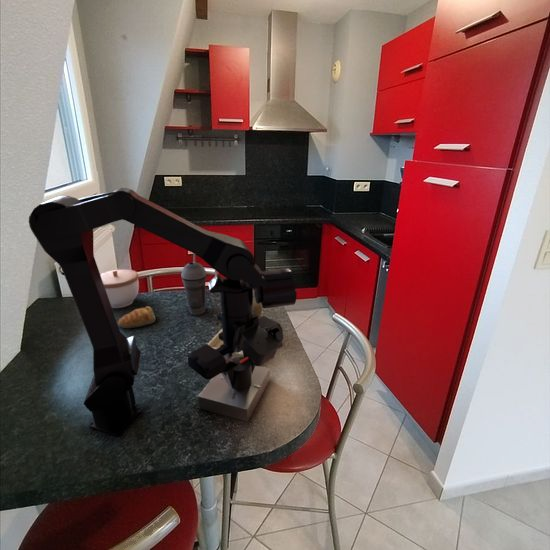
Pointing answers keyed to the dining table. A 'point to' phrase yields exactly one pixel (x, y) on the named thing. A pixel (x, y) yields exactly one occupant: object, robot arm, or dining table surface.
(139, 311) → the pastry
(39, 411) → the dining table surface
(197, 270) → the beverage cup
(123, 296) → the lidded bowl
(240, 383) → the stove knob
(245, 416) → the stove panel
